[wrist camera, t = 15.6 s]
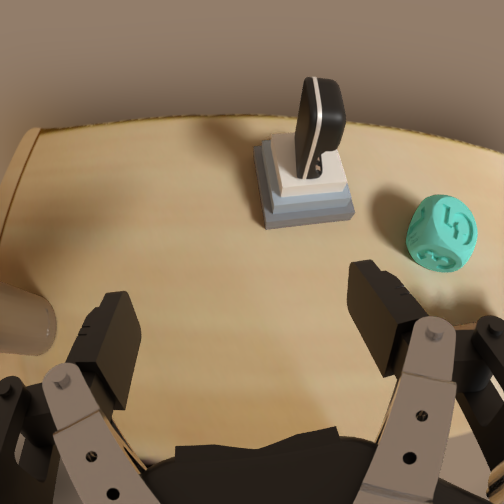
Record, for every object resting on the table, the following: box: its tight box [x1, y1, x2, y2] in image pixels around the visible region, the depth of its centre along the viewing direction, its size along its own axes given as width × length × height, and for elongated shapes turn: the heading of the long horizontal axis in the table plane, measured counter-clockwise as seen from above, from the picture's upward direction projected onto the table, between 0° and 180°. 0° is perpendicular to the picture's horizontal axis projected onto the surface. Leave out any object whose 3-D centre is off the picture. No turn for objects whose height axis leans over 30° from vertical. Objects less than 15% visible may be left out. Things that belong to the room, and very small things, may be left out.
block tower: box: [254, 133, 355, 230], centre depth 41 cm, size 12×12×8 cm
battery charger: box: [294, 77, 346, 180], centre depth 32 cm, size 7×4×11 cm, turn 179°
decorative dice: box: [406, 195, 477, 272], centre depth 38 cm, size 8×8×8 cm
